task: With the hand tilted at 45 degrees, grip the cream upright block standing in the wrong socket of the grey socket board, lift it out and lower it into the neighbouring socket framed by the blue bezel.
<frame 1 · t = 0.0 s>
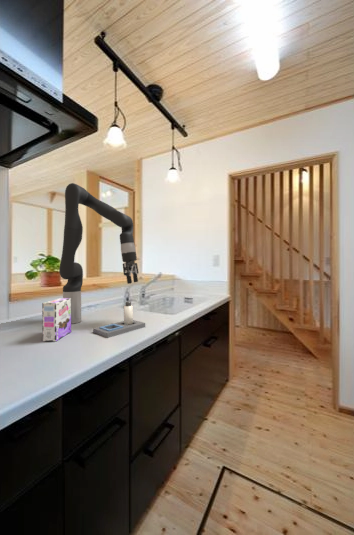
hand: (132, 282, 119), 22 cm above the worktop, tool pointing down, fingers open, 8 cm apart
cream upright block: (128, 327, 115), resting in grey socket board
grey socket board: (120, 329, 111), on the worktop
candy box: (58, 337, 101), on the worktop
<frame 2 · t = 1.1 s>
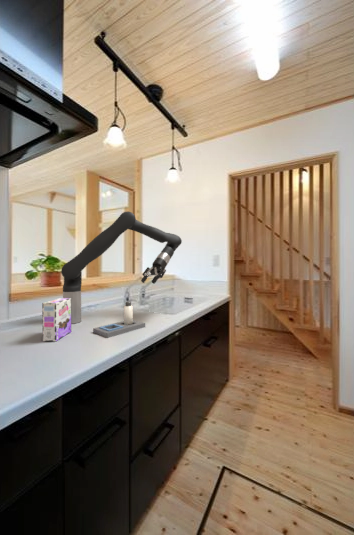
hand: (147, 282, 125), 22 cm above the worktop, tool tilted 45°, fingers open, 8 cm apart
nothing on the worktop moved.
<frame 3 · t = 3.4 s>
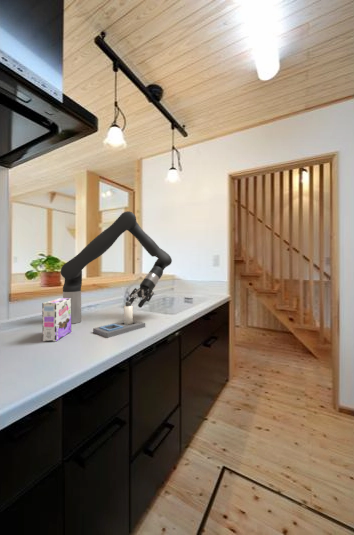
hand: (133, 305, 118), 10 cm above the worktop, tool tilted 45°, fingers open, 8 cm apart
nothing on the worktop moved.
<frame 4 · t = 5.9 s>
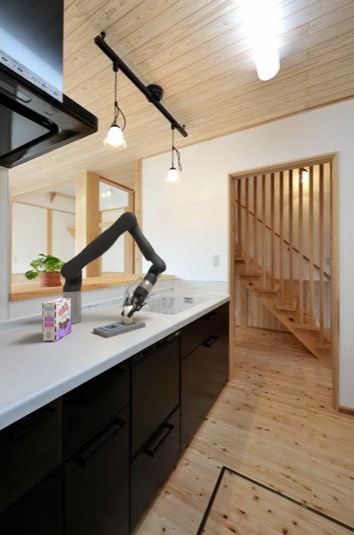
hand: (125, 316, 114), 6 cm above the worktop, tool tilted 45°, fingers closed on cream upright block, 4 cm apart
cream upright block: (128, 327, 115), resting in grey socket board, touching gripper
everything else where it was.
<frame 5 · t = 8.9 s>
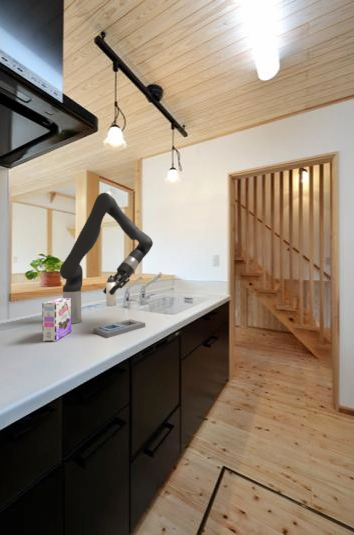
hand: (107, 293, 106), 19 cm above the worktop, tool tilted 45°, fingers closed on cream upright block, 4 cm apart
cream upright block: (111, 305, 107), point 13 cm above the worktop, touching gripper
everything else where it was.
when the fingers open (8 cm above the worktop, at t = 12.0 s): cream upright block drops 1 cm, resting in grey socket board.
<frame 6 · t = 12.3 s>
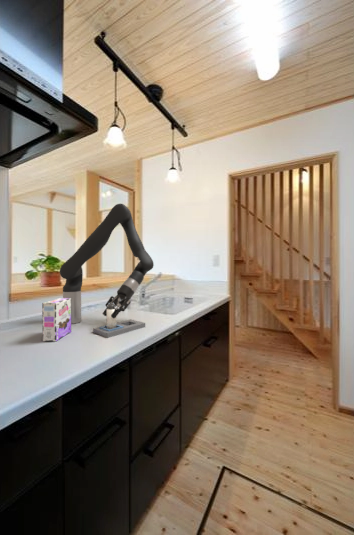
hand: (108, 316, 106), 8 cm above the worktop, tool tilted 45°, fingers open, 6 cm apart
cream upright block: (111, 331, 108), resting in grey socket board
everything else where it was.
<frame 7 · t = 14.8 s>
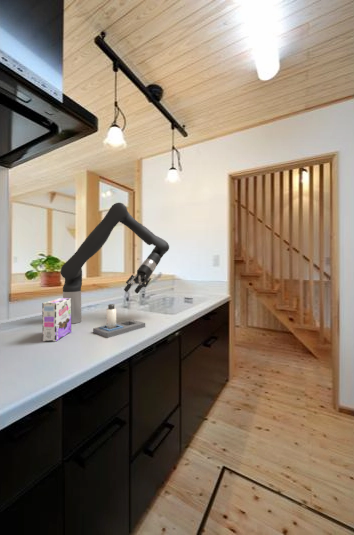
hand: (130, 291, 116), 18 cm above the worktop, tool tilted 45°, fingers open, 8 cm apart
nothing on the worktop moved.
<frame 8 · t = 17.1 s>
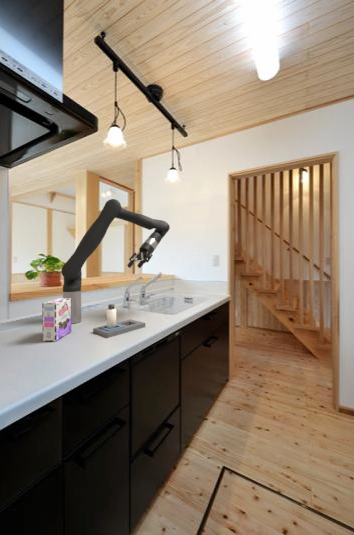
hand: (133, 266, 124), 31 cm above the worktop, tool tilted 45°, fingers open, 8 cm apart
nothing on the worktop moved.
at the end: cream upright block 0.1 cm from the target spot on the grey socket board, point 0.0 cm above the grey socket board's base; cream upright block tilted 0°; the gripper is holding nothing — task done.
